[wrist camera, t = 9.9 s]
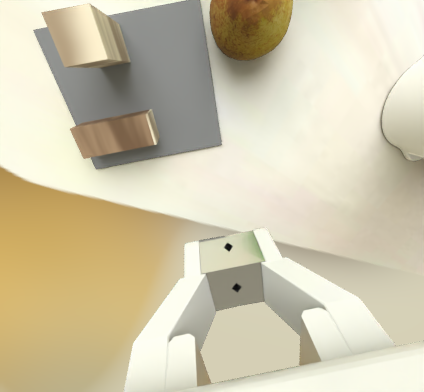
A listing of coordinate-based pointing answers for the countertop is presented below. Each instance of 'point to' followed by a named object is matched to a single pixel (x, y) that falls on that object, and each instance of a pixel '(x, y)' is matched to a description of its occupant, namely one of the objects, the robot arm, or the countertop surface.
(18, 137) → the countertop surface
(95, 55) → the ash block
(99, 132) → the walnut block
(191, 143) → the mat
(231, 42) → the fruit
